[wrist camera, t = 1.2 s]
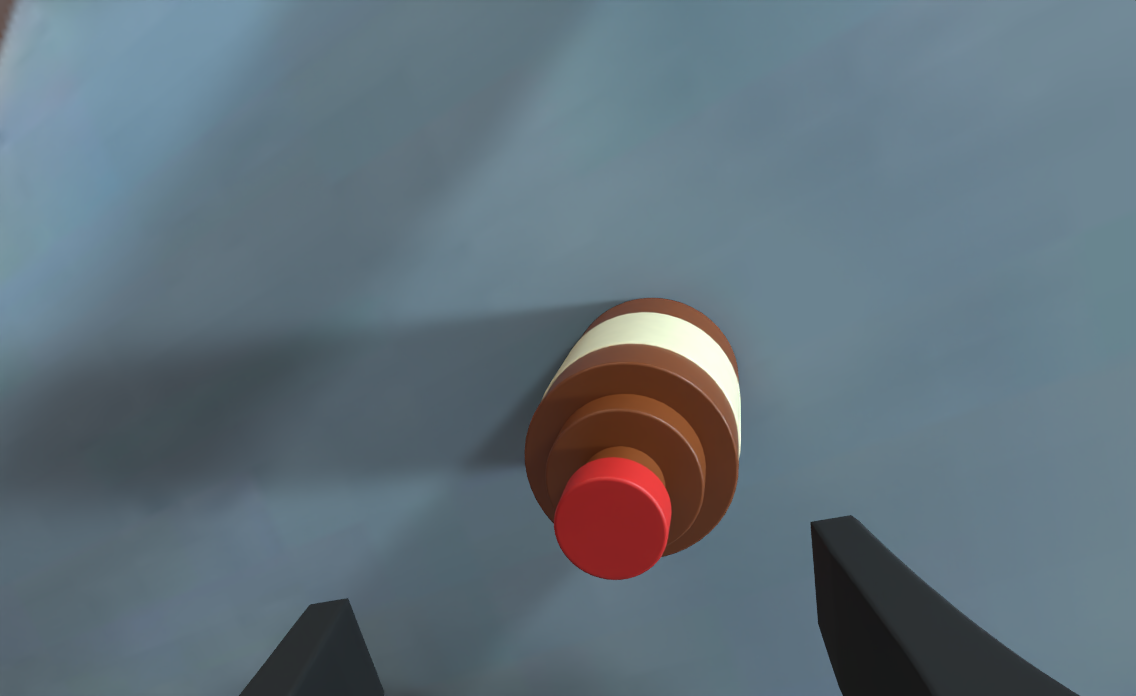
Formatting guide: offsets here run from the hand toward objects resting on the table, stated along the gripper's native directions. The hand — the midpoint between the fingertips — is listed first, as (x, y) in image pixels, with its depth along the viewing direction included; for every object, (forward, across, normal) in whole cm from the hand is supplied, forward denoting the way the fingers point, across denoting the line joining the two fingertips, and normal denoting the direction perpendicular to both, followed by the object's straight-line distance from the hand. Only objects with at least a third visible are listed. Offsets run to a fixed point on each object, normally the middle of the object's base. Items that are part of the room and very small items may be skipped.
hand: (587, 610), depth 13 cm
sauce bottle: (+12, -2, +3) cm, 12 cm away
